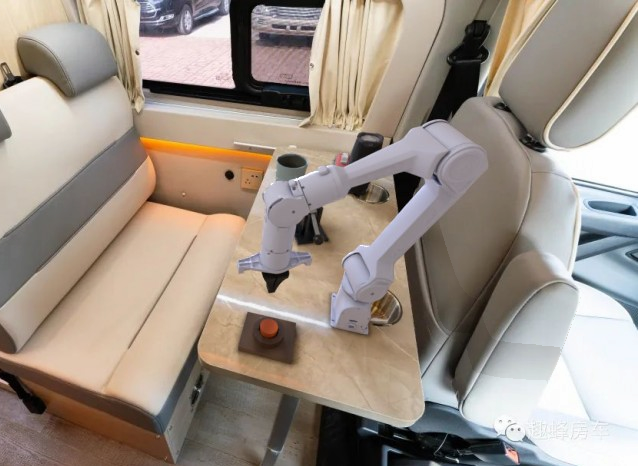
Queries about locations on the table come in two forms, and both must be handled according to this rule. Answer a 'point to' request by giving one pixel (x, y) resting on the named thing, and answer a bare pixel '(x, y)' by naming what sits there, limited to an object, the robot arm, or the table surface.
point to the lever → (316, 228)
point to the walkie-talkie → (342, 159)
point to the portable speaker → (364, 154)
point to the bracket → (309, 229)
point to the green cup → (290, 167)
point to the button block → (263, 346)
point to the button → (268, 328)
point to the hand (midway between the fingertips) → (270, 289)
